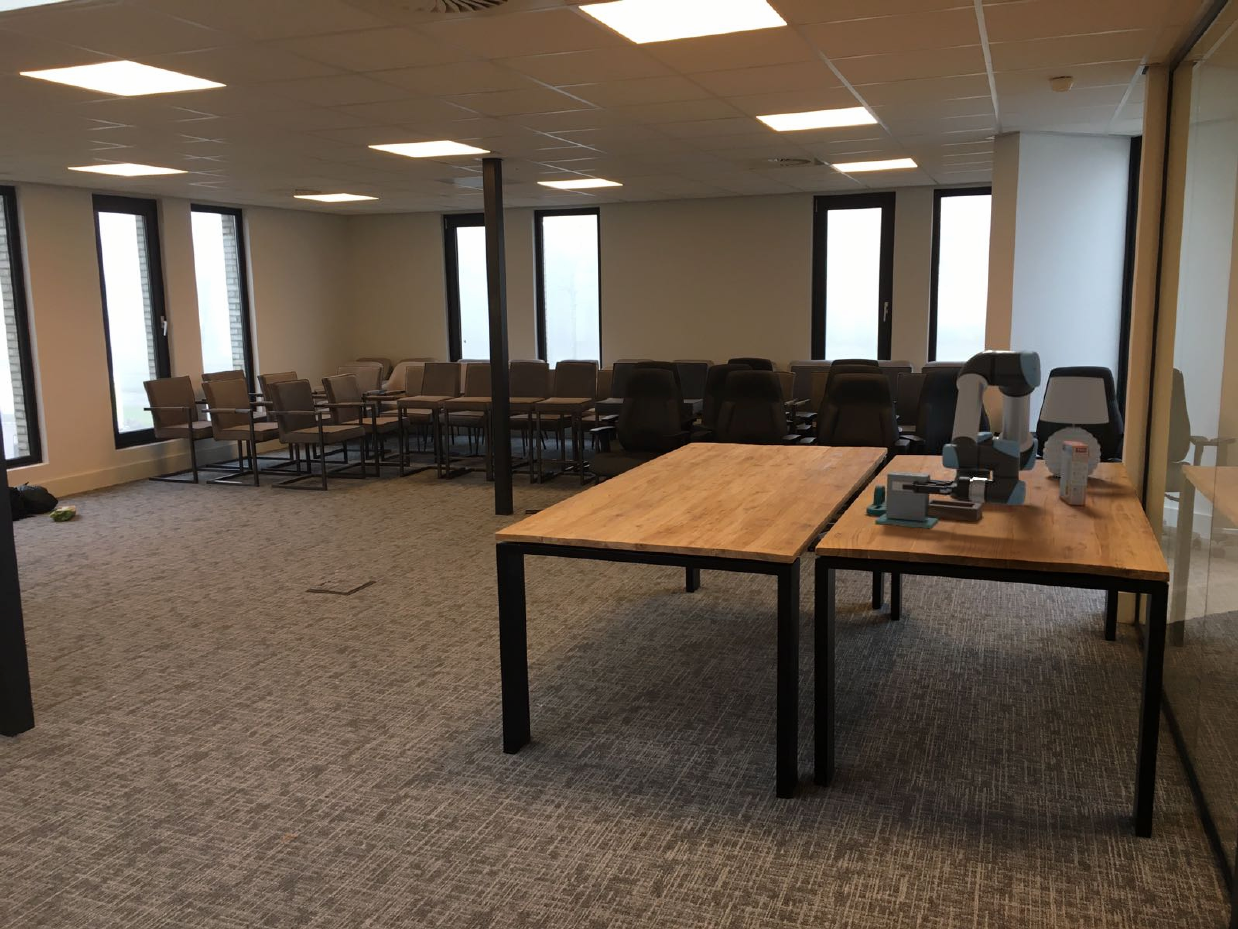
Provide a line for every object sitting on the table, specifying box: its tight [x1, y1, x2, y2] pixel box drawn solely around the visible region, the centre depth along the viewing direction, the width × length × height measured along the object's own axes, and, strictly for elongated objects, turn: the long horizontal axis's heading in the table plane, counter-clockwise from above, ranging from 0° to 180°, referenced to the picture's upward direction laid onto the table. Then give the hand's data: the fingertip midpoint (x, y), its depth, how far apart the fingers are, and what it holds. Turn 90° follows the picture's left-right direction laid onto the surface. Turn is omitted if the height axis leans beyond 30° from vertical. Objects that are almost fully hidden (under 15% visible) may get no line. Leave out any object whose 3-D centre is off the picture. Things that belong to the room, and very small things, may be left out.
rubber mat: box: [874, 514, 939, 529], centre depth 316 cm, size 12×17×1 cm
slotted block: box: [928, 498, 983, 522], centre depth 326 cm, size 12×18×4 cm, turn 62°
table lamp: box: [1039, 376, 1110, 478], centre depth 400 cm, size 25×25×40 cm
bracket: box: [865, 485, 887, 517], centre depth 334 cm, size 18×7×8 cm, turn 150°
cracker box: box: [1058, 441, 1090, 506], centre depth 348 cm, size 14×6×21 cm, turn 168°
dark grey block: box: [885, 471, 931, 521], centre depth 315 cm, size 6×12×14 cm, turn 62°
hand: (895, 483), depth 316 cm, fingers closed on dark grey block, 6 cm apart
